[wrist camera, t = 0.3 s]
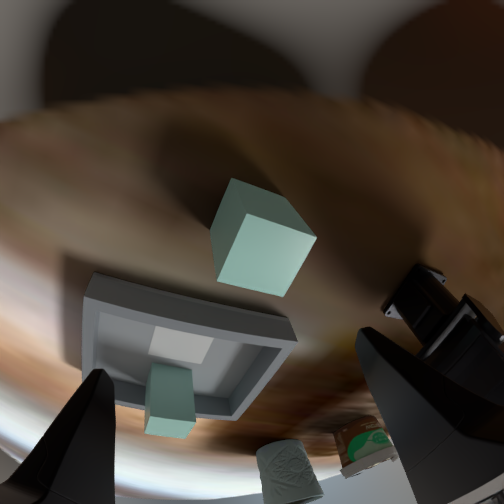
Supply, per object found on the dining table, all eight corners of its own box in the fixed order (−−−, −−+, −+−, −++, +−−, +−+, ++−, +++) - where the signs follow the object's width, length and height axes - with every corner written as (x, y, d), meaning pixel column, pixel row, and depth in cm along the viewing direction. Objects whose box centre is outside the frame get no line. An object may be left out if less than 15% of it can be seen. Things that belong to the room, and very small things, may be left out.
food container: (393, 407, 45) (414, 447, 37) (377, 423, 48) (395, 461, 40) (341, 419, 42) (361, 467, 33) (326, 435, 45) (343, 479, 36)
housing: (288, 317, 26) (311, 374, 21) (232, 399, 32) (241, 446, 26) (93, 271, 20) (70, 332, 15) (87, 373, 26) (78, 424, 20)
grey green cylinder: (294, 432, 41) (314, 494, 31) (313, 444, 46) (331, 495, 36) (241, 451, 42) (254, 511, 32) (266, 461, 47) (279, 511, 37)
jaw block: (284, 197, 20) (317, 237, 15) (261, 245, 22) (283, 296, 17) (231, 177, 19) (246, 213, 14) (209, 230, 20) (216, 281, 15)
